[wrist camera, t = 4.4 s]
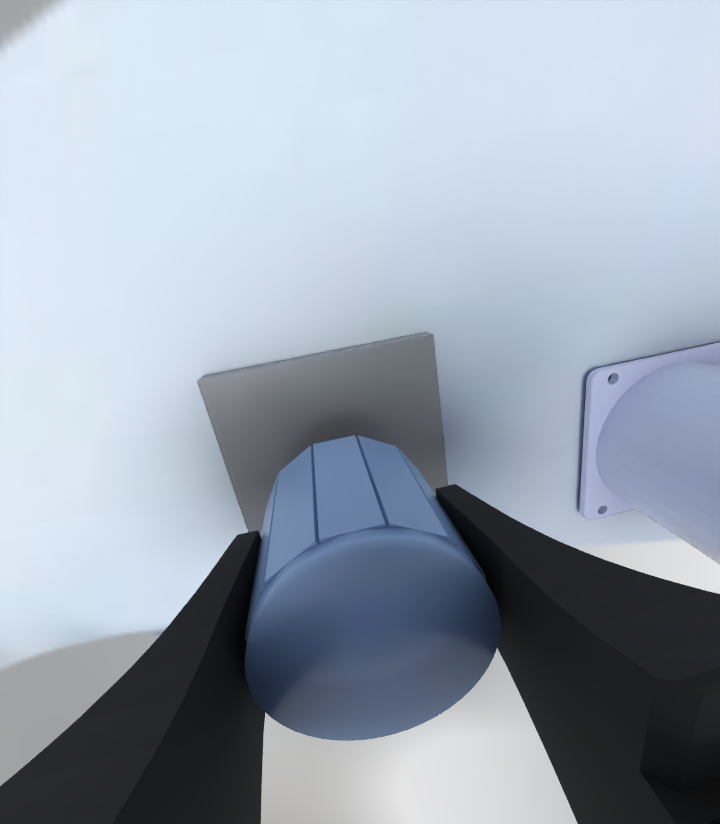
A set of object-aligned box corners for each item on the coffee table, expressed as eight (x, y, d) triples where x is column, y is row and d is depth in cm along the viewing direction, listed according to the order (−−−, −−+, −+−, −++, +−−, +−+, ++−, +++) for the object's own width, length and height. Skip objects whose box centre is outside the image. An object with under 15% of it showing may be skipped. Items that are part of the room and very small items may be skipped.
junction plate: (426, 332, 15) (465, 347, 11) (445, 514, 18) (480, 571, 14) (202, 376, 14) (168, 407, 10) (263, 558, 17) (252, 629, 14)
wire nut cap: (415, 421, 11) (496, 518, 7) (432, 552, 13) (503, 701, 8) (248, 458, 11) (207, 589, 6) (289, 588, 13) (281, 766, 8)
